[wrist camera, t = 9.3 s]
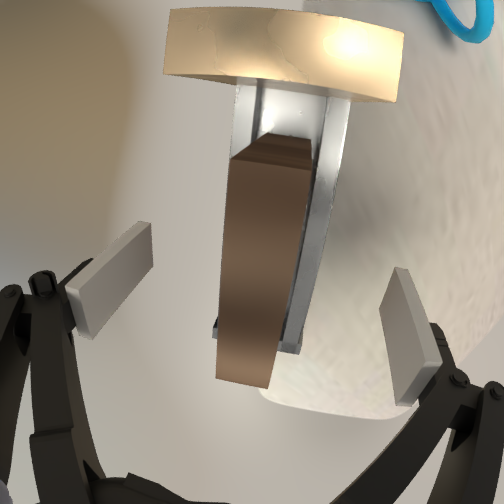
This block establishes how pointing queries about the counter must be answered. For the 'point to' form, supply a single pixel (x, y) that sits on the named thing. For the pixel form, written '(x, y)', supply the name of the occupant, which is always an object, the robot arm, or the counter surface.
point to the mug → (472, 35)
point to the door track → (290, 100)
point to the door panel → (260, 253)
